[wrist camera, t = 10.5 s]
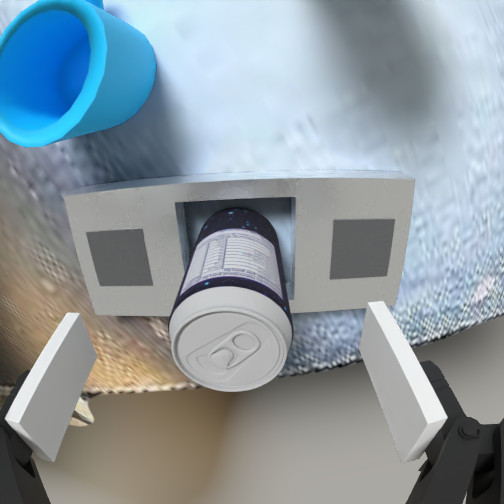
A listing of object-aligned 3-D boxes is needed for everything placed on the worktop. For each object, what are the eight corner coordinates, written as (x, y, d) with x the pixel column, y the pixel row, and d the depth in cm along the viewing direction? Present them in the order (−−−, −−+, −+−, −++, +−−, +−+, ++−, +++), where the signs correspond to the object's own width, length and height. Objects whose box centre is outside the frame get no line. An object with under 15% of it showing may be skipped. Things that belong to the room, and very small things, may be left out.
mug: (160, 120, 20) (112, 131, 13) (61, 138, 20) (-8, 160, 13) (155, -31, 15) (114, -80, 8) (57, -1, 15) (-7, -24, 8)
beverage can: (184, 240, 24) (137, 351, 13) (237, 187, 22) (223, 272, 11) (239, 287, 26) (232, 411, 15) (292, 240, 24) (323, 353, 13)
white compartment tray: (106, 298, 26) (95, 315, 24) (79, 186, 22) (63, 196, 20) (384, 288, 26) (395, 306, 23) (400, 171, 22) (415, 180, 19)
